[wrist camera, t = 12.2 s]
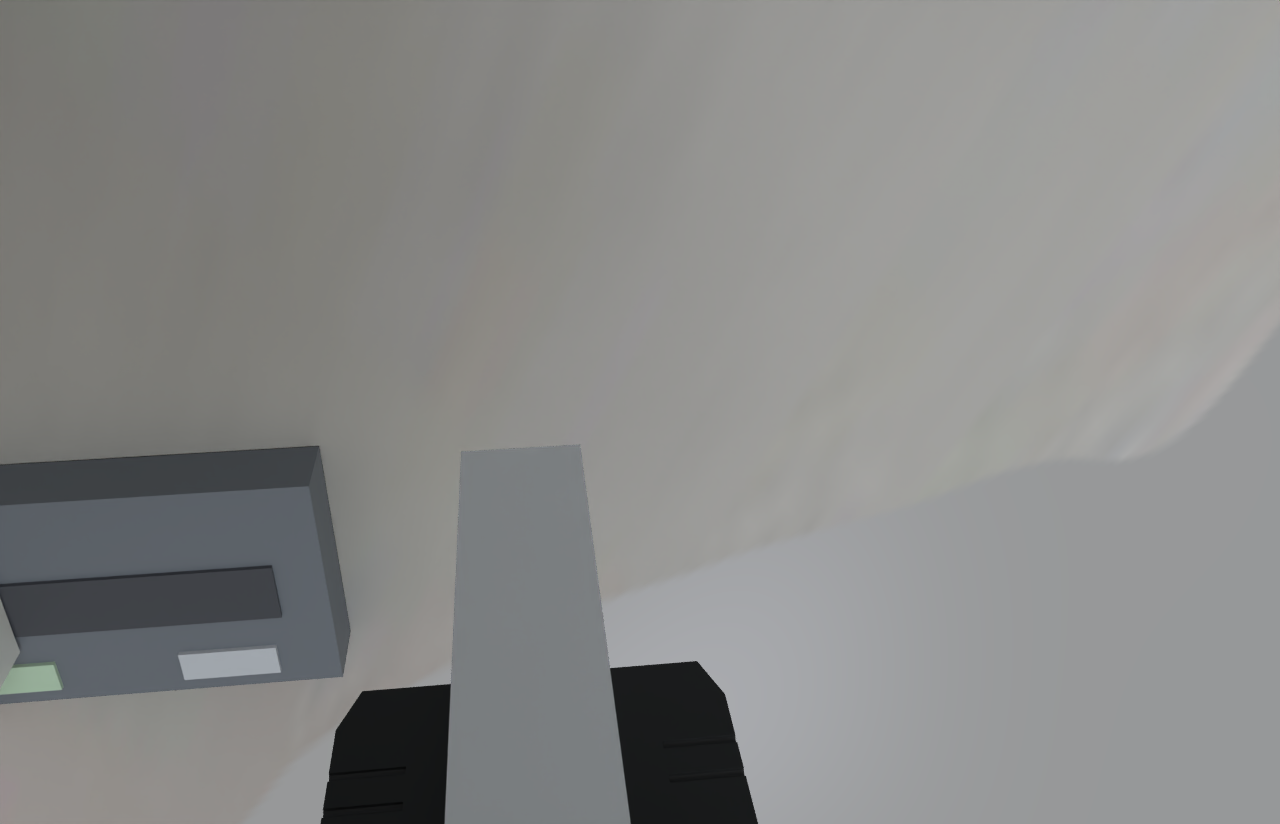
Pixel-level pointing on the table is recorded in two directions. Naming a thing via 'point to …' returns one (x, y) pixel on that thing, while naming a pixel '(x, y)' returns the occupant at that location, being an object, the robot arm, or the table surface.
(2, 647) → the switch tab
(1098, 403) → the table surface
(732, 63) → the table surface
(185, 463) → the switch panel
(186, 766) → the table surface
